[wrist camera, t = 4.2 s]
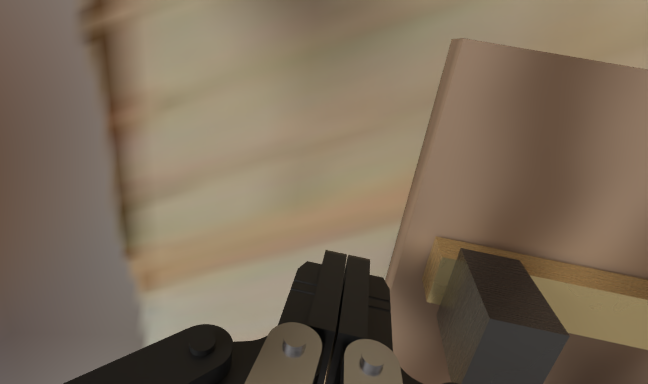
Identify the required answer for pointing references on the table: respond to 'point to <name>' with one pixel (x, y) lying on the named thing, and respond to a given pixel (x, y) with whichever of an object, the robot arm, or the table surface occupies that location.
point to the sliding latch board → (527, 189)
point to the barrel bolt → (524, 310)
